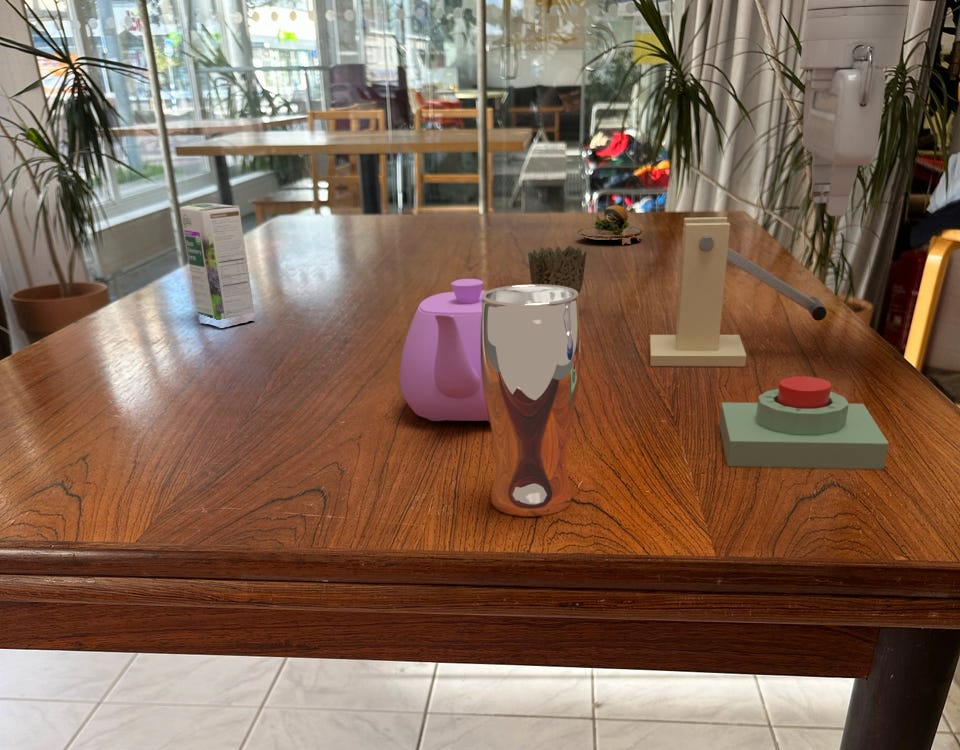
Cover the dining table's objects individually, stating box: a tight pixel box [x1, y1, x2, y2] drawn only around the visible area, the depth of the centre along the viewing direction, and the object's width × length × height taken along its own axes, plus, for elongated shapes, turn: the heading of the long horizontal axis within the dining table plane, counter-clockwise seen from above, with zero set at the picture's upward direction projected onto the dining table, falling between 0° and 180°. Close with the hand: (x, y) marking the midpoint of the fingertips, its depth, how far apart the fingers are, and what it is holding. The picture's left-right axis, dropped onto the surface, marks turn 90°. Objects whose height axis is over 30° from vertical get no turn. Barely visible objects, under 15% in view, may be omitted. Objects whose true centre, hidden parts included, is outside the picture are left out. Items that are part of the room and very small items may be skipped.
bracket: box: [649, 216, 747, 368], centre depth 101 cm, size 10×9×14 cm
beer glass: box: [480, 283, 582, 518], centre depth 67 cm, size 7×7×15 cm
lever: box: [699, 220, 828, 322], centre depth 99 cm, size 16×5×2 cm, turn 81°
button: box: [777, 376, 832, 409], centre depth 77 cm, size 4×4×2 cm
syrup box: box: [179, 202, 255, 320], centre depth 123 cm, size 6×6×14 cm
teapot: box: [399, 278, 490, 423], centre depth 87 cm, size 20×13×12 cm, turn 170°
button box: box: [718, 388, 890, 470], centre depth 78 cm, size 12×10×4 cm
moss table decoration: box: [577, 197, 643, 239], centre depth 172 cm, size 12×12×8 cm
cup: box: [527, 245, 588, 294], centre depth 122 cm, size 8×7×8 cm
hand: (827, 208), depth 95 cm, fingers open, 8 cm apart
